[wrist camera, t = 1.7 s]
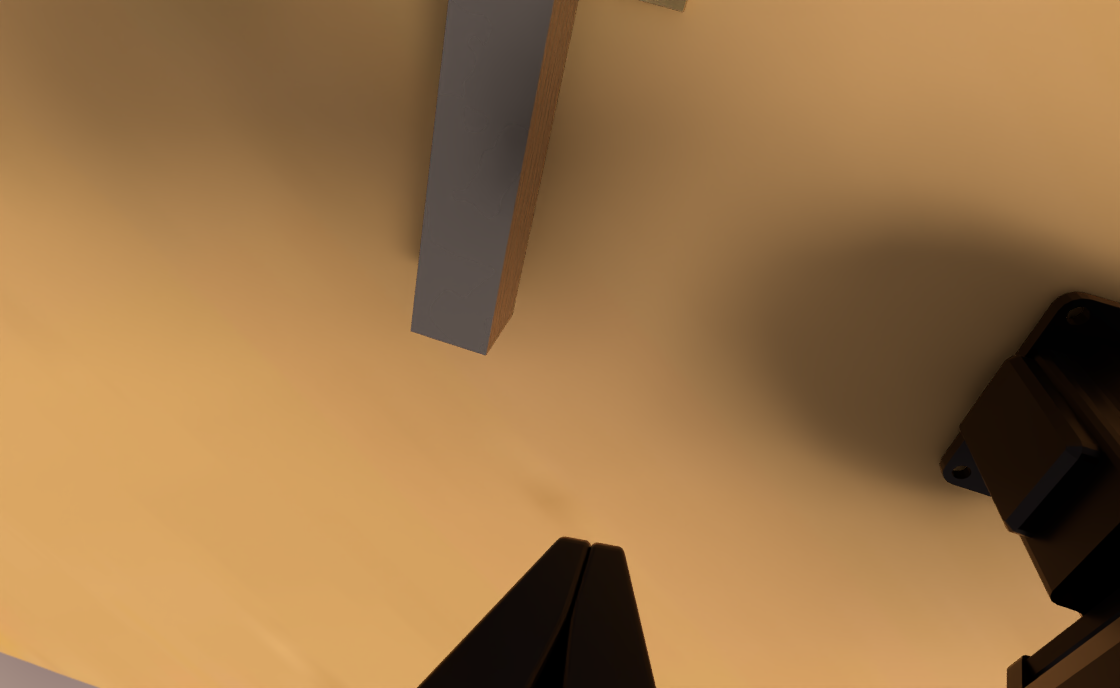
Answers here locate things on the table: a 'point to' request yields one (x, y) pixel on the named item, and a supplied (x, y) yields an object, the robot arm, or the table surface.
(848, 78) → the table surface
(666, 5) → the plate
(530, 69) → the lock bar
